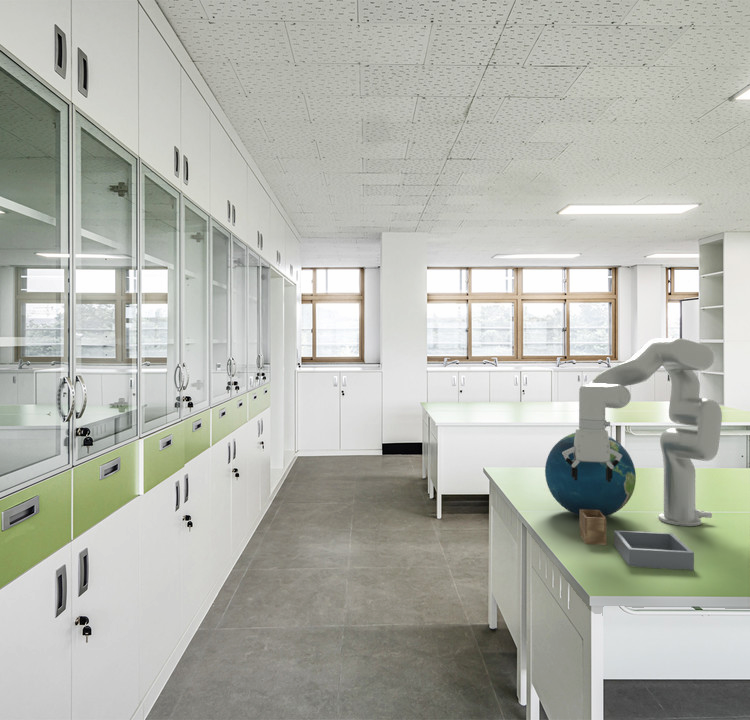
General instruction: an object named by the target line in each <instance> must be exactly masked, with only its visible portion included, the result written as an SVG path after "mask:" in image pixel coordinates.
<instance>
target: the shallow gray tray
mask: <svg viewBox="0 0 750 720" xmlns="http://www.w3.org/2000/svg"><path fill="white" fill-rule="evenodd" d="M613 546H614V548H615V549H616V550H617V552H618V554H619V555H620V557H622V560H624V562H625V561H626V562H625V563H626V564H627V566H628V565H629V566H635V567H634V568H646V567H649V569H662V568H665V569H666V570H679V569H689V570H688V571H695V552H694V551H693V550H692V549H690V548H689V547H688V545H686V544H685V543H684V542H682V540H681V539H679V538H678V536H676V535H675V534H674V533H672V532H657V531H655V532H653V531H638V530H636V531H634V530H632V531H631V530H618V529H617V530H613ZM629 566H628V567H629Z"/></svg>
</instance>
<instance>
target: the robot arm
mask: <svg viewBox="0 0 750 720" xmlns="http://www.w3.org/2000/svg"><path fill="white" fill-rule="evenodd" d="M714 360H715V355H714V352H713V349H711V348H710V347H709V346H708V345H706V344H703V343H700V342H696V341H692V340H689V339H684V338H680V337H679V338H678V337H673V338H672V337H671V338H669V337H668V338H654V339H651V340H649V341H647V342H646V343H645V344H643V345H642V346H641V347H640V348H639V349H638V350H637V351H636V352H635V353H633V354H632V356H630V358H629V359H627V360H625V361H624V362H621V363H619V364H617V365H615V366H612V367H610V368H608V369H606V370H604V371H602V372H601V373H599V374H597V376H595V377H594V378H593V379H592V380H591V381H590V382H588V384H583V385H581V386H580V387H579V389H578V390H579V393H578V395H579V396H578V427H577V428H575V432H574V433H575V438H574V447H572V448H570V449H568V450H566V451H563V452H562V454H563V456H564V458H565V460H566V461H567V462H568V463H569V464H570V465H571V476H572V477H573V479H574V480H575V481H577V467H576V465H577V464H578V463H579V462H580V461H581V462H601V463H605V464H606V465H607V467H606V480H607V481H608V482H611V479H612V469H613V468H614V467H615V466H616V465H617V464H618V463H619V461H620V459H621V457H622V455H621V454H620V453H618V452H616V451H614V450H612V449H610V444H609V437H610V436H609V432H608V430H607V427H610V426H611V421H608V420H606V408H607V409H622V408H624V407H626V406H627V405H629V403H630V401H631V396H632V395H631V391H630V390H629V389H628V388H627V386H634V385H636V384H640V383H644V382H646V381H647V380H649V379H650V378H651V377H652V376H653V374H655V373H656V372H657V371H658V370H659V369H661V367H663V368H664V370H665V371H666V372H667V374H668V375H669V378H670V381H671V389H670V390H671V391H670V397H669V399H670V400H669V405H668V417H669V420H670V421H671V422H672V423H675V424H677V425H682V426H690V427H697V430H695V429H688V428H678V427H672V428H668V429H666V430H664V431H663V432H661V435H660V436H659V437H660V438H659V442H660V443H659V444H660V448H661V454H662V462H663V512H661V513H659V514H658V519H659V520H660V521H661V522H662V523H663V522H664V523H666V524H670V525H674V526H679V527H680V526H682V527H696V526H699V525H702V518H706V519H711V518H712V517H713V514H712V512H711V511H705V510H699V509H697V508H696V501H697V500H696V498H697V497H696V477H697V476H696V469H695V466H694V463H693V462H692V460H698V461H704V462H710V461H712V460H714V458H715V457H716V456H717V455H718V451H719V447H720V438H721V430H722V421H723V414H722V408H721V406H720V405H719V403H718V402H717V401H715V400H714V399H712V398H702V397H701V398H700V392H701V390H700V389H701V383H700V379H699V377H698V375H696V373H695V372H694V371H700V372H701V371H706V370H708V369H710V368H711V367H712V365H713V363H714ZM571 453H573V454H574V459H573V460H572V461H571V460H570V458H569V456H568V455H569V454H571ZM610 453H611V454H613V455H615V459H614V460H613V461H612V462H610Z"/></svg>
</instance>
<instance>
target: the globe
mask: <svg viewBox="0 0 750 720" xmlns="http://www.w3.org/2000/svg"><path fill="white" fill-rule="evenodd" d="M574 438H575V432H574V433H573V432H572V433H571V434H568V435H566V436H564V437H563V438H561V439H560V440H558V442H556V443H555V445H553V447H552V448H551V450H550V451H549V453H548V455H547V458H546V462H545V466H544V467H545V468H544V476H545V482H546V485H547V487H548V490H549V492H550V494H551V495H552V497H553V498H554V500H555V501H556V502H557V503H558V504H559V505H560V506H561V507H562V508H564V509H565V510H567V511H569V512H570V513H572V514H574V515H576V516H579V517H580V511H579V509H586V510H600V511H601V513H602V514H603V515H604V516H605V517H608V516H610V515H614V514H615V513H617V512H618V511H620V510H621V509H623V508H624V506H626V504H628V502H629V501H630V500H631V497H632V496H633V494H634V491H635V487H636V481H637V480H636V479H637V477H636V474H637V473H636V469H635V465H634V462H633V459H632V457H631V456H630V455H631V454H630V453H629V452H628V451H627V450H626V449H625V447H624V446H623V445H622V444H621V443H620V442H618V441H617V440H616V439H614V438H613V437H611V436H609V444H610V449H612V450H614V451H616V452H618V453H620V454H621V455H622V457H621V459H620V461H619V463H618V464H617V465H616V466H615V467H614V468H613V469H612V479H611V482H608V481H607V480H606V467H607V465H606V464H605V463H601V462H581V461H580V462H579V463H578V464H577V465H576V467H577V481H575V480H574V479H573V477H572V476H571V465H570V464H569V463H568V462H567V461H566V460H565V458H564V456H563V454H562V452H563V451H566V450H568V449H570V448H572V447H574ZM568 456H569V458H570V460H571V461H572V460H573V459H574V454H573V453H571V454H569V455H568ZM614 459H615V455H613V454H611V453H610V462H612V461H613V460H614Z"/></svg>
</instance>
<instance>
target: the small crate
mask: <svg viewBox="0 0 750 720" xmlns="http://www.w3.org/2000/svg"><path fill="white" fill-rule="evenodd" d="M579 511H580V516H579V535H581V536H580V537H581V539H582V541H583V542H584V544H585V545H602V546H606V545H607V518H606V517H607V516H604V515H603V514H602V513H601V511H600V510H586V509H579Z"/></svg>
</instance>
